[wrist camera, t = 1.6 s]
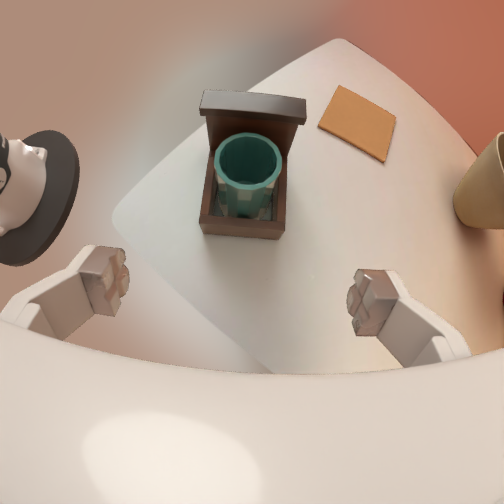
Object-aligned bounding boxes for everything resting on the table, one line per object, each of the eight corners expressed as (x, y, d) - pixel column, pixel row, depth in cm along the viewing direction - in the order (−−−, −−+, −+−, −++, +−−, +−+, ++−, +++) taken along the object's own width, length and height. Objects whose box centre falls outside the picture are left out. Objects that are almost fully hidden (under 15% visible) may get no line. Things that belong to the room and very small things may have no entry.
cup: (210, 211, 35) (201, 171, 25) (234, 172, 37) (234, 123, 26) (254, 233, 35) (263, 201, 24) (276, 192, 36) (292, 149, 26)
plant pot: (442, 156, 41) (493, 114, 25) (489, 200, 40) (540, 172, 24) (431, 218, 38) (499, 182, 22) (481, 262, 37) (545, 243, 21)
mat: (317, 126, 39) (318, 124, 39) (338, 86, 42) (338, 84, 41) (383, 163, 39) (384, 161, 38) (395, 118, 41) (396, 116, 41)
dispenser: (281, 240, 35) (308, 203, 22) (200, 233, 35) (181, 191, 22) (284, 159, 38) (305, 98, 25) (211, 153, 37) (203, 89, 24)
